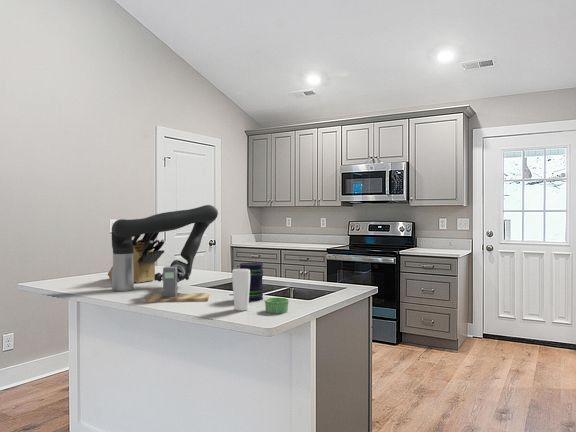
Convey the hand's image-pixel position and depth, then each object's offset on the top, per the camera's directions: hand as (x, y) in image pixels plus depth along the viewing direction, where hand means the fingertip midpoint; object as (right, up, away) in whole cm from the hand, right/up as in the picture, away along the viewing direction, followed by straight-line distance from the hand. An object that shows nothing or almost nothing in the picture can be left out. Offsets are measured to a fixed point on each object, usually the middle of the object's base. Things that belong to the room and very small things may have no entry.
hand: (169, 278), depth 191 cm
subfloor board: (+3, -9, +2) cm, 10 cm away
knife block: (-31, -9, +53) cm, 62 cm away
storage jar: (+34, -9, +1) cm, 35 cm away
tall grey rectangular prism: (0, -7, +2) cm, 8 cm away
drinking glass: (+32, -9, -19) cm, 38 cm away
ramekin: (+45, -9, -22) cm, 51 cm away
